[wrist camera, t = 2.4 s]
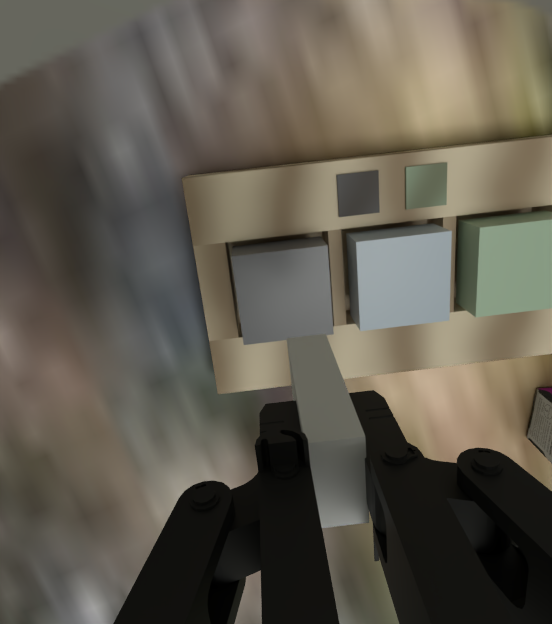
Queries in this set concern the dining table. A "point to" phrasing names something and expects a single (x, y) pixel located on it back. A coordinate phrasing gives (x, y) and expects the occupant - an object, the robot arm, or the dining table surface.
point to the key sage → (505, 263)
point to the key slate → (399, 276)
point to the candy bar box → (542, 422)
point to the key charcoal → (283, 289)
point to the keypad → (332, 228)
